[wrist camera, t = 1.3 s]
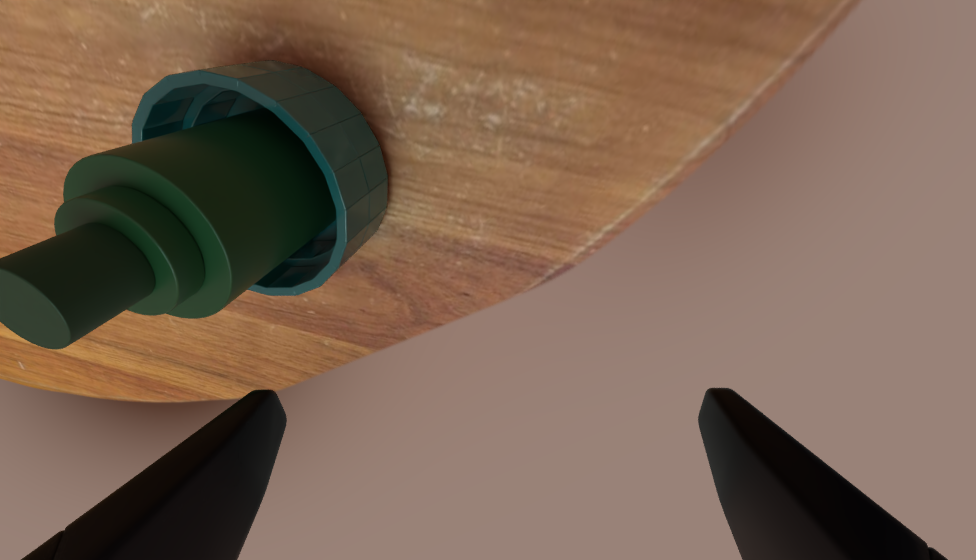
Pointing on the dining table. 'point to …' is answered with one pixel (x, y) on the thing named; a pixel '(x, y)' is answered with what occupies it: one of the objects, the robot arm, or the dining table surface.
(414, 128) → the dining table surface
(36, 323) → the bottle
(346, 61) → the dining table surface
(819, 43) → the dining table surface
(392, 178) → the dining table surface
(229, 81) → the glazed bowl
